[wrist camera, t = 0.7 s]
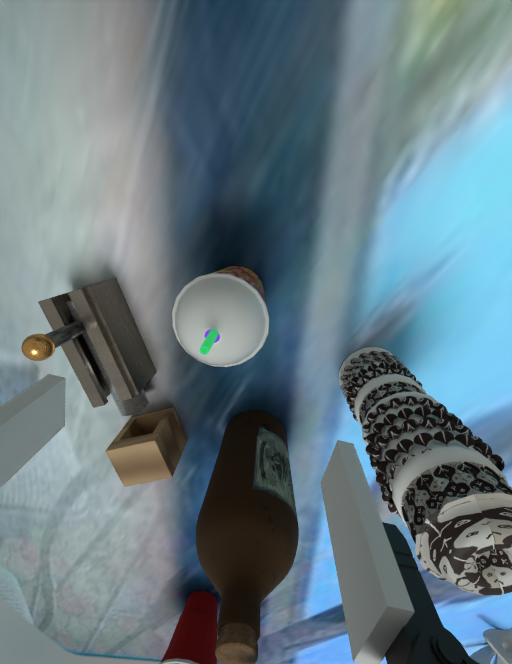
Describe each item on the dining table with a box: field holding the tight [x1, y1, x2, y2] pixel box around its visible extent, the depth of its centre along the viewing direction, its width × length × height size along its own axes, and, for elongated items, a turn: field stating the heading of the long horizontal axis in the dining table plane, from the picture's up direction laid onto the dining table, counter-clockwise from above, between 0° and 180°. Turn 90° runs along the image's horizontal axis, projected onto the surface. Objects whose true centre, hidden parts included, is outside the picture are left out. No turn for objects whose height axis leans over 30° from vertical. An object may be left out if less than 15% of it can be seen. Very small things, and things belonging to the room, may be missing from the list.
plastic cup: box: [160, 591, 218, 664], centre depth 53 cm, size 11×11×12 cm
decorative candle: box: [339, 347, 512, 595], centre depth 30 cm, size 9×9×25 cm
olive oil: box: [196, 411, 299, 664], centre depth 34 cm, size 11×11×25 cm
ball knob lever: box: [22, 300, 149, 416], centre depth 35 cm, size 16×4×12 cm, turn 17°
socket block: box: [105, 407, 187, 487], centre depth 43 cm, size 6×7×8 cm
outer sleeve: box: [38, 278, 157, 408], centre depth 38 cm, size 14×6×7 cm, turn 17°
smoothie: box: [172, 266, 269, 367], centre depth 29 cm, size 8×8×20 cm
